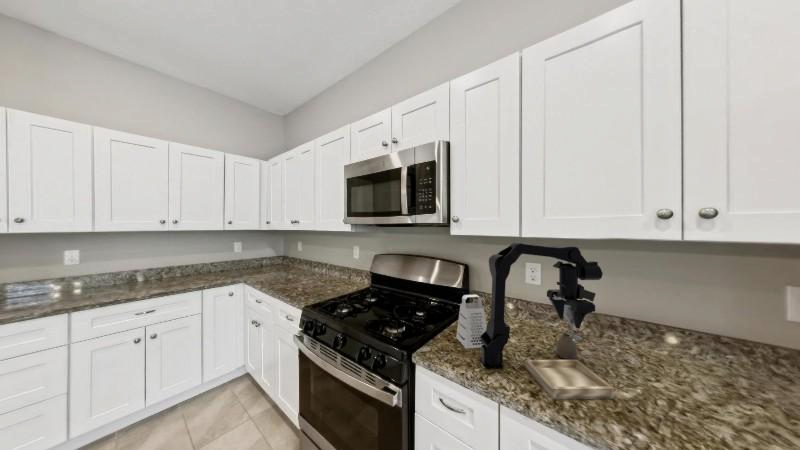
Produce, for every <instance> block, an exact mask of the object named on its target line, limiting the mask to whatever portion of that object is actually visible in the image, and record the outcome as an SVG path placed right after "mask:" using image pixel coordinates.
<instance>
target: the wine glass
mask: <svg viewBox="0 0 800 450" xmlns="http://www.w3.org/2000/svg"><path fill="white" fill-rule="evenodd" d="M570 309H571V307H570V303H569V302H566V303H565V305H564V315H563V317H564V318H565V319H566V320H567V321H568V322H569V324H570V333H566V334H569V335H570V336H571V338H572V339H573V340H574V341H582V340H583V337H581V336H580V335H577V334H574V327H575V324H574V321H573V318H572V315H571V311H570Z"/></svg>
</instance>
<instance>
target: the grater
mask: <svg viewBox="0 0 800 450" xmlns="http://www.w3.org/2000/svg"><path fill="white" fill-rule="evenodd" d="M468 298H477V302H467V303H466V300H467V299H468ZM482 303H483V300H482V298H481V296H479V295H478V294H464V295H463V296H462V297H461V303H460V306H459V314H458V320H457V329H456V330H457V331H456V337H455V338H456V339H457V340H458V342H459V343H460V342H461V343H460V344H461V345H462V346H463V347H464V348H465V349H466V350H467V349H476V348H478V349H479V348H482V345H484V344H483V343H482V342H481V339H480V336H481V335H482V334H483V333H484V332H485V331H486V328H487V320H486V314H485V313H486V312H485V308H484V306H483V304H482Z"/></svg>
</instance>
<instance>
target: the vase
mask: <svg viewBox="0 0 800 450" xmlns="http://www.w3.org/2000/svg"><path fill="white" fill-rule="evenodd" d="M569 334H570V333H568V334H567V333H562V335H561V336H560V337H559V338H558V339H557V341H556V345H555V349H556V353H557V354H558V356H559V357H560V358H561V359H562V360H576V358H577V357H578V353H579V349H578V345H577V342H575V340H573V339H572V338H571V336H570V335H569Z"/></svg>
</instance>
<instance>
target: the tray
mask: <svg viewBox="0 0 800 450" xmlns="http://www.w3.org/2000/svg"><path fill="white" fill-rule="evenodd" d="M525 369H526V371H527V372H528V373H529V374H530V376H532V377H533V378H534V380H535V381H536V382H537V384H538V385H539V386H540V387H541V388H542V389H543V390H544V391H545V393H547V395H548V396H549V397H550V398H551V399H552V400H615V399H616V393H615V392H616V388H614V387H613V386H612V385H611V384H610V383H608V382H607V381H606V380H604V379H603V378H602V377H600V376H599V375H598V374H596V373H595V372H594V371H593V370H591V369H590V368H589V367H588V366H586V365H585V364H583V363H582V362H581V361H579V360H578V359H574V360H565V359H525Z"/></svg>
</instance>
